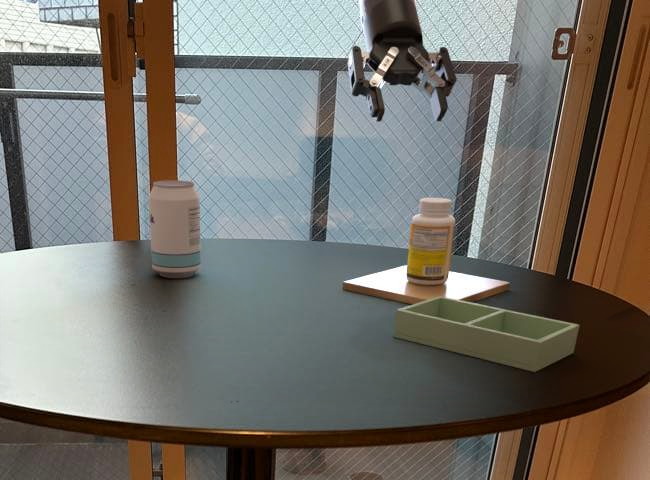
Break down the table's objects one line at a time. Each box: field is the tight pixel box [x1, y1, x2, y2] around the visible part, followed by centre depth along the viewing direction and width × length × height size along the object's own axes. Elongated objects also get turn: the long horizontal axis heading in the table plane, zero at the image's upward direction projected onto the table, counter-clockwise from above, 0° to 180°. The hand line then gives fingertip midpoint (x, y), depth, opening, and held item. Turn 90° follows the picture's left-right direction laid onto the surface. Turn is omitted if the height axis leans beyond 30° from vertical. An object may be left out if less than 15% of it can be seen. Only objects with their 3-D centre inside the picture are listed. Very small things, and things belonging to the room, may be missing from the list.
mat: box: [341, 264, 511, 305], centre depth 108 cm, size 16×16×1 cm
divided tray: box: [393, 296, 580, 373], centre depth 86 cm, size 9×17×3 cm, turn 46°
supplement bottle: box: [406, 197, 456, 285], centre depth 105 cm, size 6×6×10 cm
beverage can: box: [148, 180, 202, 279], centre depth 111 cm, size 7×7×12 cm
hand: (410, 117), depth 108 cm, fingers open, 8 cm apart
